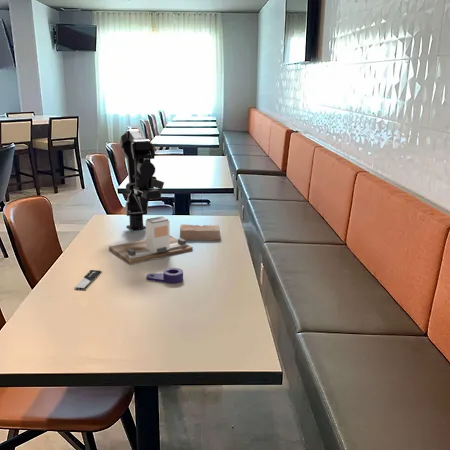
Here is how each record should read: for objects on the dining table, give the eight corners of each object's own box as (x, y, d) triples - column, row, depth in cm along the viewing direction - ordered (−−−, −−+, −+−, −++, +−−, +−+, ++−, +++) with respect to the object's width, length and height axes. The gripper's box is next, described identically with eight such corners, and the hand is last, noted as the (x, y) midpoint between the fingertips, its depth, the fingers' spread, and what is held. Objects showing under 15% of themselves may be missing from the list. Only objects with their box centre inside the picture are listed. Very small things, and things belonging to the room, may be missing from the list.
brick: (219, 234, 200) (219, 223, 199) (220, 240, 192) (220, 229, 191) (180, 234, 199) (179, 223, 197) (179, 241, 191) (179, 230, 189)
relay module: (146, 248, 174) (145, 218, 170) (162, 245, 178) (162, 216, 174) (153, 253, 170) (153, 222, 166) (170, 249, 174) (170, 219, 170)
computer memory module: (85, 288, 143) (72, 287, 144) (85, 291, 144) (72, 290, 144) (102, 270, 158) (91, 269, 158) (102, 273, 158) (91, 272, 158)
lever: (184, 277, 156) (184, 268, 155) (181, 285, 150) (181, 275, 149) (149, 275, 157) (148, 266, 156) (144, 282, 151) (143, 273, 150)
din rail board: (108, 249, 178) (108, 240, 177) (168, 237, 193) (168, 229, 192) (130, 264, 164) (129, 254, 163) (192, 250, 179) (192, 241, 178)
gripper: (173, 174, 178) (173, 214, 183) (149, 167, 193) (150, 203, 197) (146, 177, 172) (147, 218, 176) (124, 169, 186) (126, 207, 191)
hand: (143, 211), depth 185 cm, fingers closed
